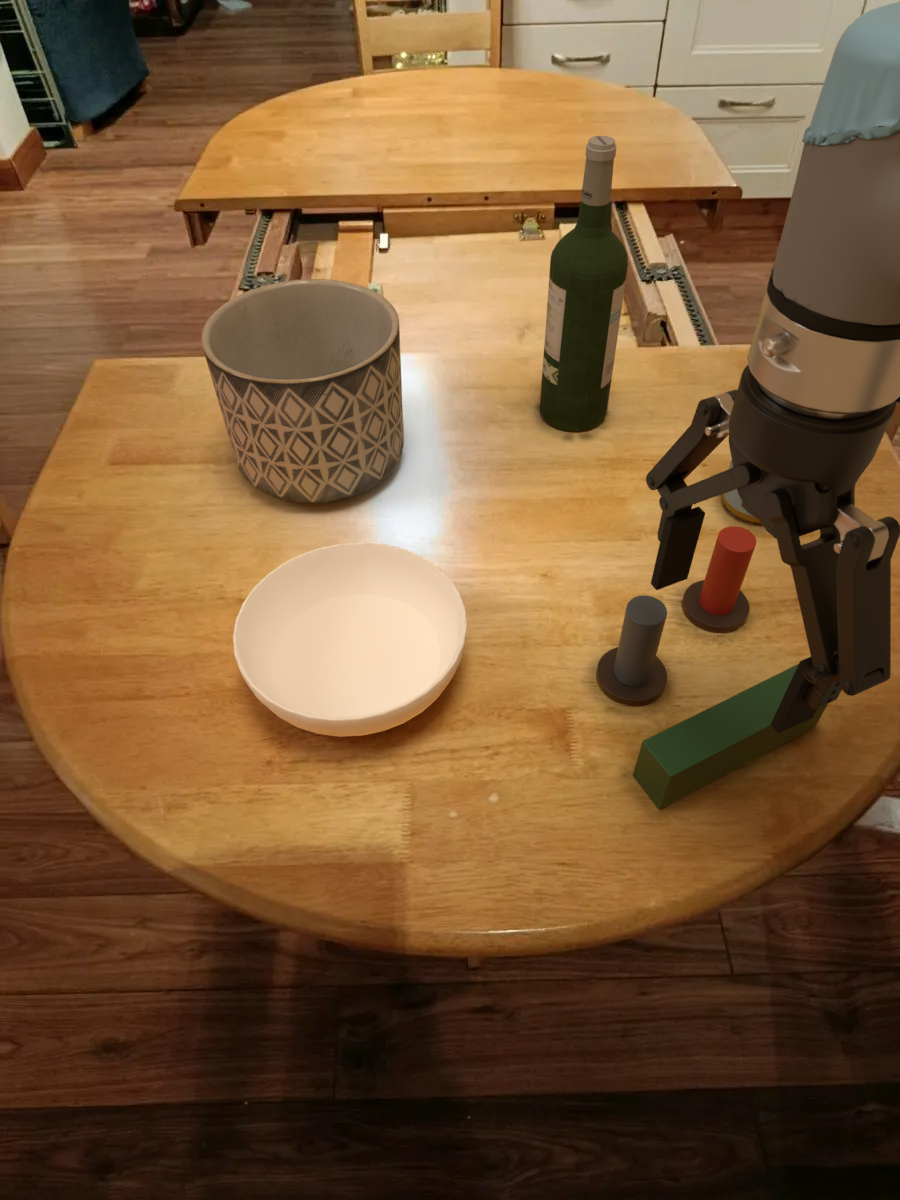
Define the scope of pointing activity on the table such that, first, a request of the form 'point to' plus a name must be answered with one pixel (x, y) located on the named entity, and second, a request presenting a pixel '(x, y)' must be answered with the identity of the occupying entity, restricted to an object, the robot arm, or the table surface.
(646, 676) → the grey cylinder on disc
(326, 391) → the planter
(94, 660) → the table surface
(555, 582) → the table surface
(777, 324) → the robot arm
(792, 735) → the green bar
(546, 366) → the wine bottle
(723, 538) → the red peg on stand
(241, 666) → the bowl
